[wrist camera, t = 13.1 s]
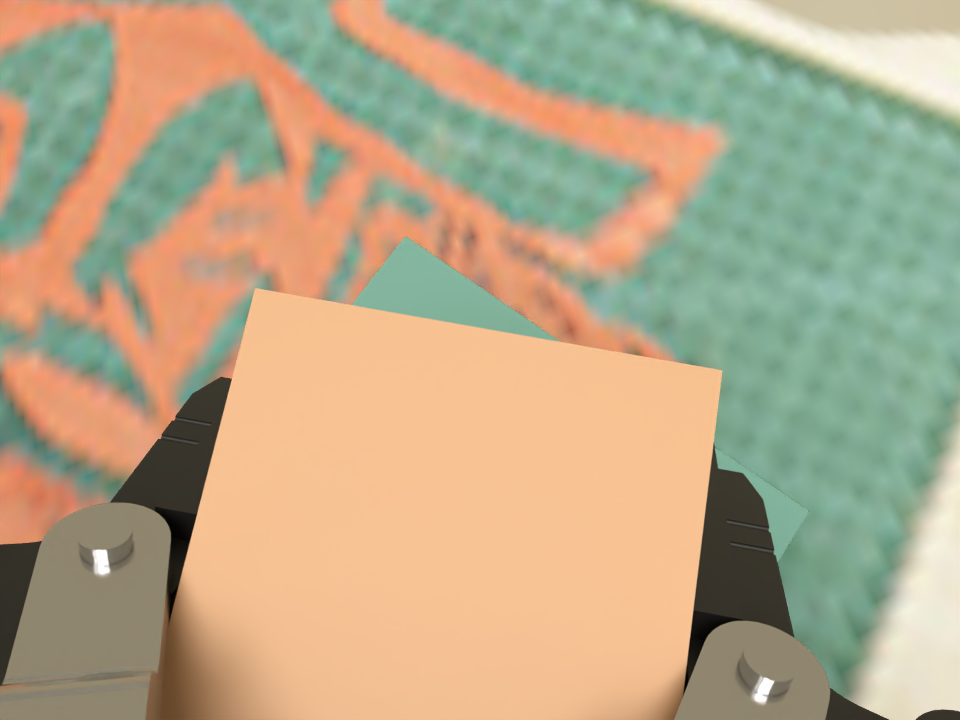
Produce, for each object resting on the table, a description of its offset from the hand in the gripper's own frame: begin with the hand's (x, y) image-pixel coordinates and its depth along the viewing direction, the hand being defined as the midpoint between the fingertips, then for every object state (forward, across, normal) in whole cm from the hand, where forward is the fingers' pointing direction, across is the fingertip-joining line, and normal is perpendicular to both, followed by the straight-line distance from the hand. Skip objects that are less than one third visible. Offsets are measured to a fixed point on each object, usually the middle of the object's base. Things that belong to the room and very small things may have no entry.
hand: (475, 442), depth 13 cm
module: (+2, 0, +4) cm, 5 cm away
